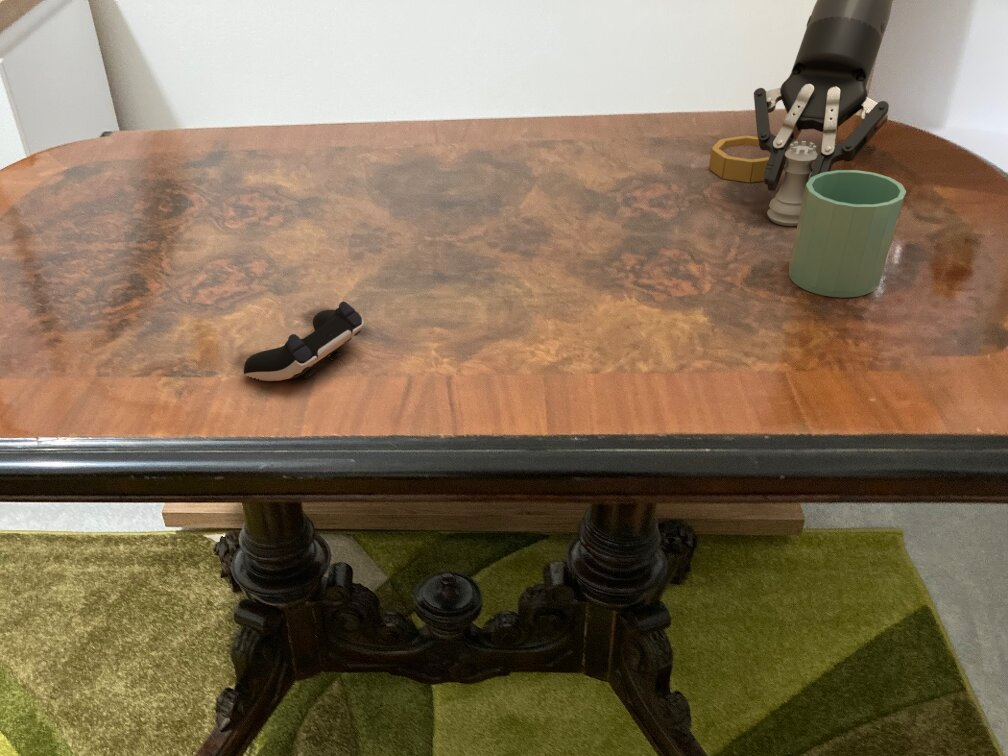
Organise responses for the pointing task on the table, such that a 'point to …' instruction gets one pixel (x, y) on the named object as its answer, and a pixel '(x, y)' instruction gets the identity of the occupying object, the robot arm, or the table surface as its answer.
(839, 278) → the green cup
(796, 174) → the rook chess piece
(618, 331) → the table surface
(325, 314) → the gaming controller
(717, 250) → the table surface
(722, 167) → the holder ring
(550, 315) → the table surface
